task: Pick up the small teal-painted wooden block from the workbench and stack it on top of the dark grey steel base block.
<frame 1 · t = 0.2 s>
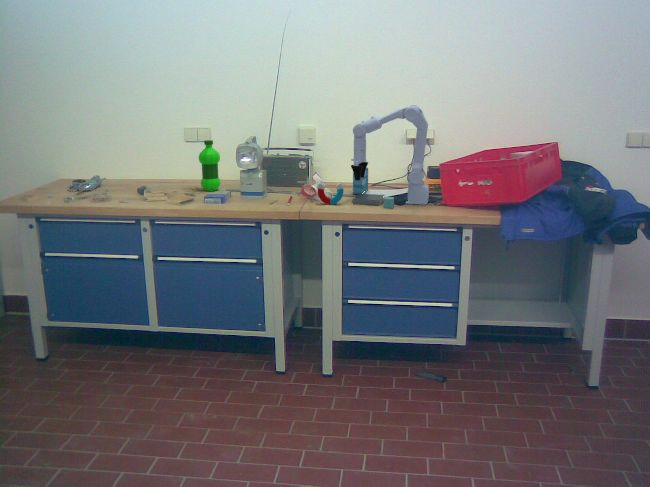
hand: (359, 178, 306), 10 cm above the table, tool pointing down, fingers open, 7 cm apart
plastic bottle: (211, 190, 330), on the table
magnet: (330, 204, 300), on the table
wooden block: (388, 207, 293), on the table
base block: (368, 202, 303), on the table
grey irregular piece: (80, 190, 333), on the table
data package: (360, 192, 324), on the table
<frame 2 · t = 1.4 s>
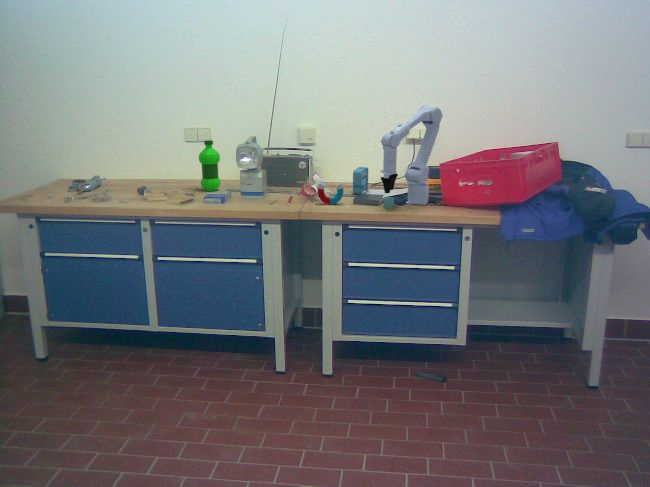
hand: (389, 191, 291), 7 cm above the table, tool pointing down, fingers open, 7 cm apart
nothing on the table moved.
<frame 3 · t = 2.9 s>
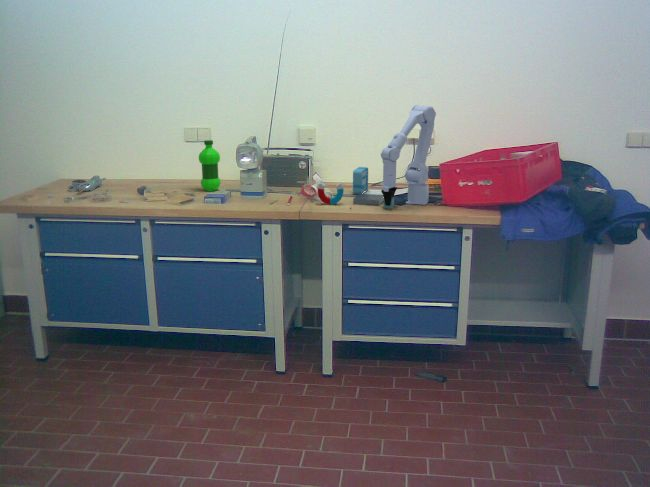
hand: (388, 204, 293), 1 cm above the table, tool pointing down, fingers closed on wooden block, 4 cm apart
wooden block: (388, 207, 293), on the table, touching gripper
everything else where it was.
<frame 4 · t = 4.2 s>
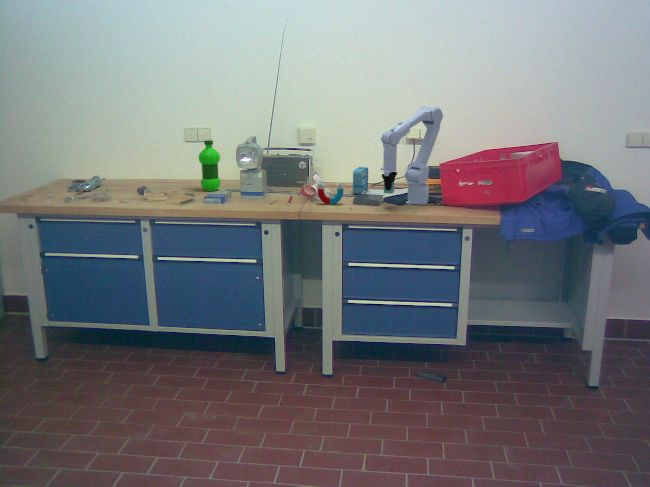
hand: (389, 189, 291), 8 cm above the table, tool pointing down, fingers closed on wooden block, 4 cm apart
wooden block: (388, 192, 291), point 7 cm above the table, touching gripper
everything else where it was.
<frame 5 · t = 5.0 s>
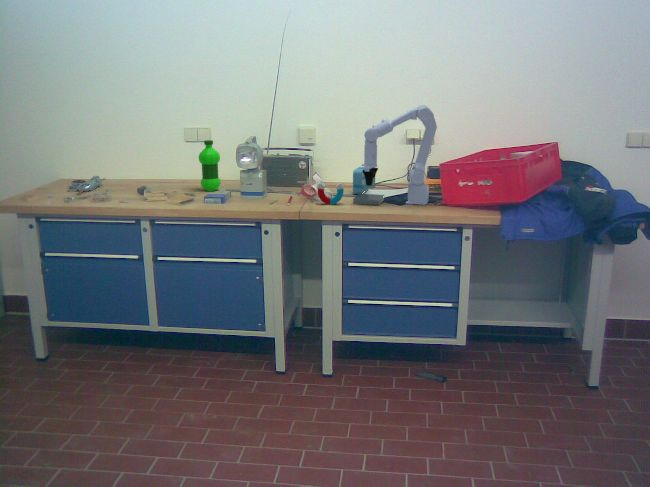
hand: (370, 184, 301), 8 cm above the table, tool pointing down, fingers closed on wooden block, 4 cm apart
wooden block: (369, 187, 301), point 7 cm above the table, touching gripper
everything else where it was.
when the fingers open (5 cm above the table, at t = 6.6 s): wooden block stays where it is, resting on base block.
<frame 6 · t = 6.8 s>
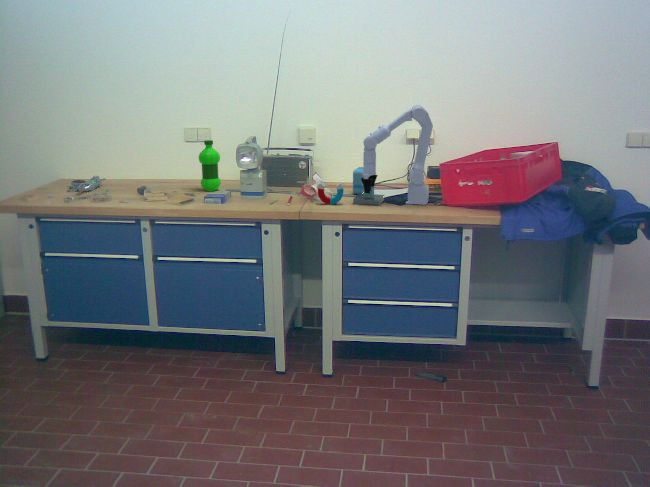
hand: (369, 191, 302), 5 cm above the table, tool pointing down, fingers open, 6 cm apart
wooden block: (368, 196, 303), point 2 cm above the table, touching base block
everything else where it was.
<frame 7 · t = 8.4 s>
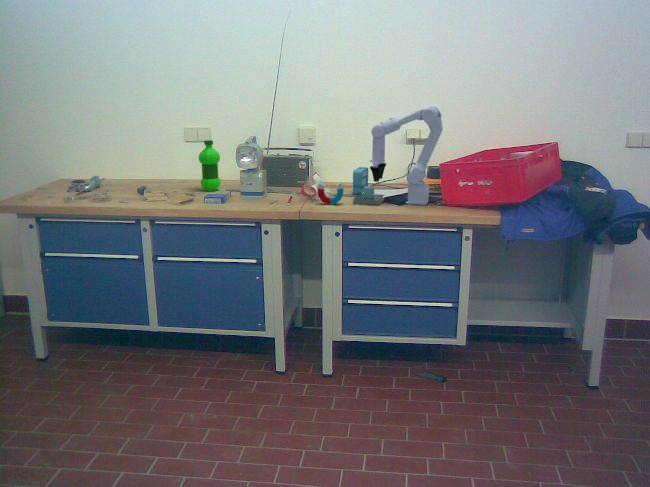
hand: (378, 180, 306), 9 cm above the table, tool pointing down, fingers open, 7 cm apart
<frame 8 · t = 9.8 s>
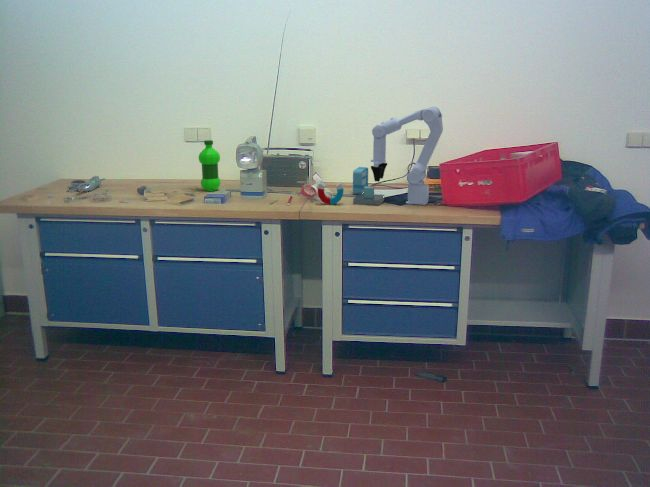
hand: (378, 179, 306), 9 cm above the table, tool pointing down, fingers open, 7 cm apart
at the end: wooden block inside the target area on the base block (0.0 cm from its centre), point 2.5 cm above the base block's base; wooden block tilted 0°; the gripper is holding nothing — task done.
